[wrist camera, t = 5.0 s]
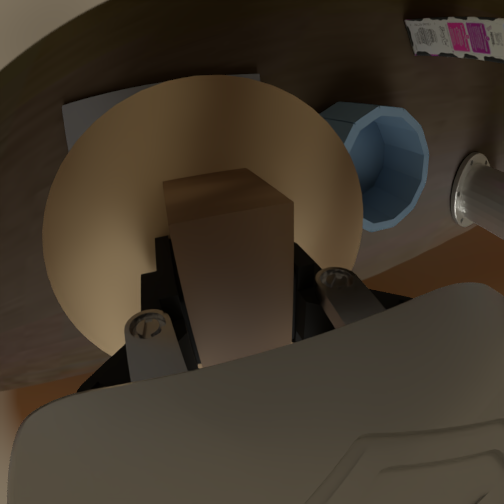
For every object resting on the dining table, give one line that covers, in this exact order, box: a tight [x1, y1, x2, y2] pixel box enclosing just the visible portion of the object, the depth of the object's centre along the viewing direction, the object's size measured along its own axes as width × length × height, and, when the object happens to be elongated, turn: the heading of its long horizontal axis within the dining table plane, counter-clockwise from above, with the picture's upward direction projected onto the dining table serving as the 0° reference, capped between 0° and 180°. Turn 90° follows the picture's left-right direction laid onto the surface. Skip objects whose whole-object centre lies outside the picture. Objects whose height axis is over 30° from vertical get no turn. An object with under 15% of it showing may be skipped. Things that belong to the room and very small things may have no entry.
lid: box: [42, 75, 363, 368], centre depth 11 cm, size 14×14×5 cm
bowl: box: [319, 102, 429, 232], centre depth 25 cm, size 11×11×6 cm
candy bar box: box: [404, 17, 504, 64], centre depth 17 cm, size 11×5×16 cm, turn 113°
